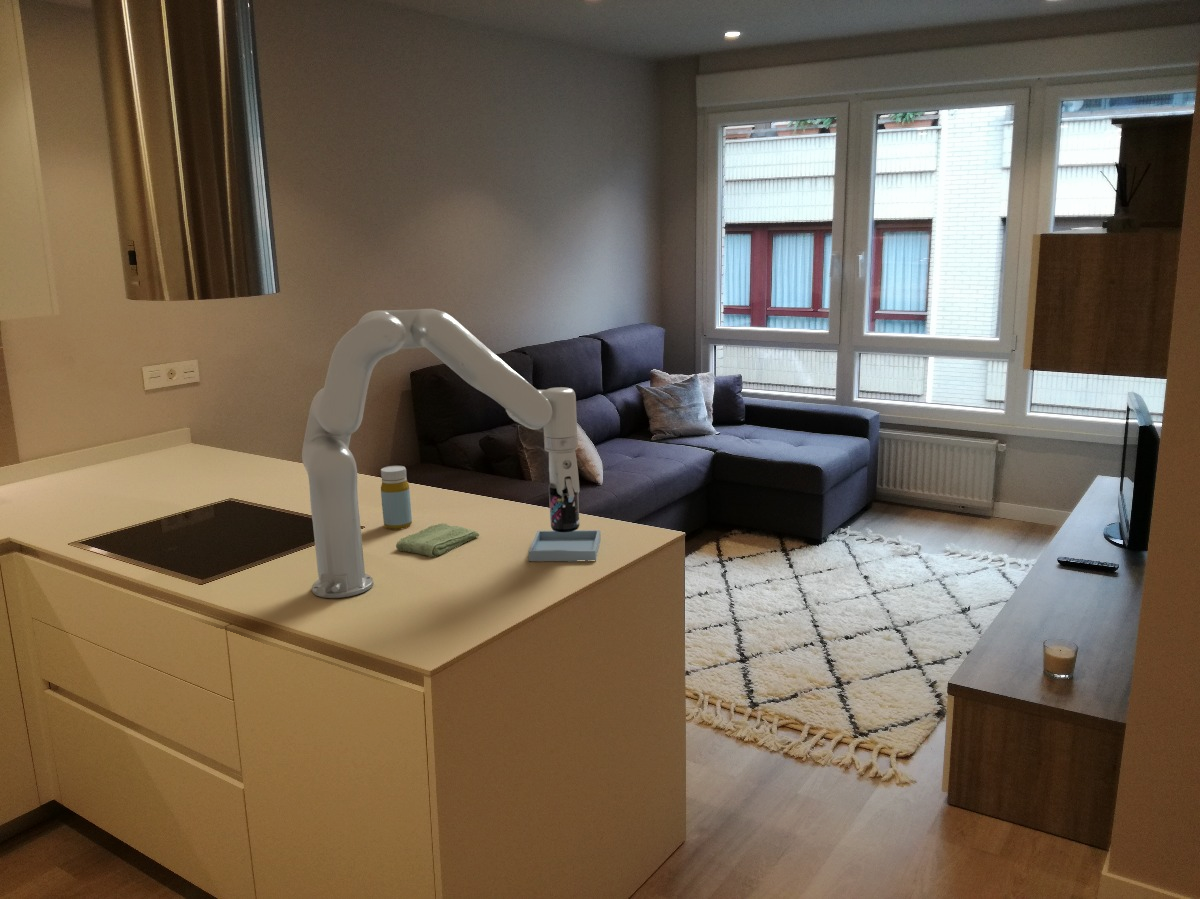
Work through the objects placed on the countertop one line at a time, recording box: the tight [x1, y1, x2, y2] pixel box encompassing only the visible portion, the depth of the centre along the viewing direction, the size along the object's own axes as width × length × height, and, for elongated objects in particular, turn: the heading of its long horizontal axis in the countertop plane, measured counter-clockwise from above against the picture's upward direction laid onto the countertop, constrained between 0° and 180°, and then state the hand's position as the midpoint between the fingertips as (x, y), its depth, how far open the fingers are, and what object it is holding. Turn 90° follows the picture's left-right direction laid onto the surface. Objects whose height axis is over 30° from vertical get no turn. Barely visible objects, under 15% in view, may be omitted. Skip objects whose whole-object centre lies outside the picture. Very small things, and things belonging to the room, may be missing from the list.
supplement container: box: [548, 483, 581, 532], centre depth 226 cm, size 7×7×10 cm
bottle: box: [380, 465, 413, 530], centre depth 250 cm, size 7×7×15 cm
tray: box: [528, 529, 602, 562], centre depth 228 cm, size 15×15×2 cm
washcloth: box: [395, 522, 480, 558], centre depth 236 cm, size 13×18×3 cm
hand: (564, 518), depth 227 cm, fingers closed on supplement container, 6 cm apart
